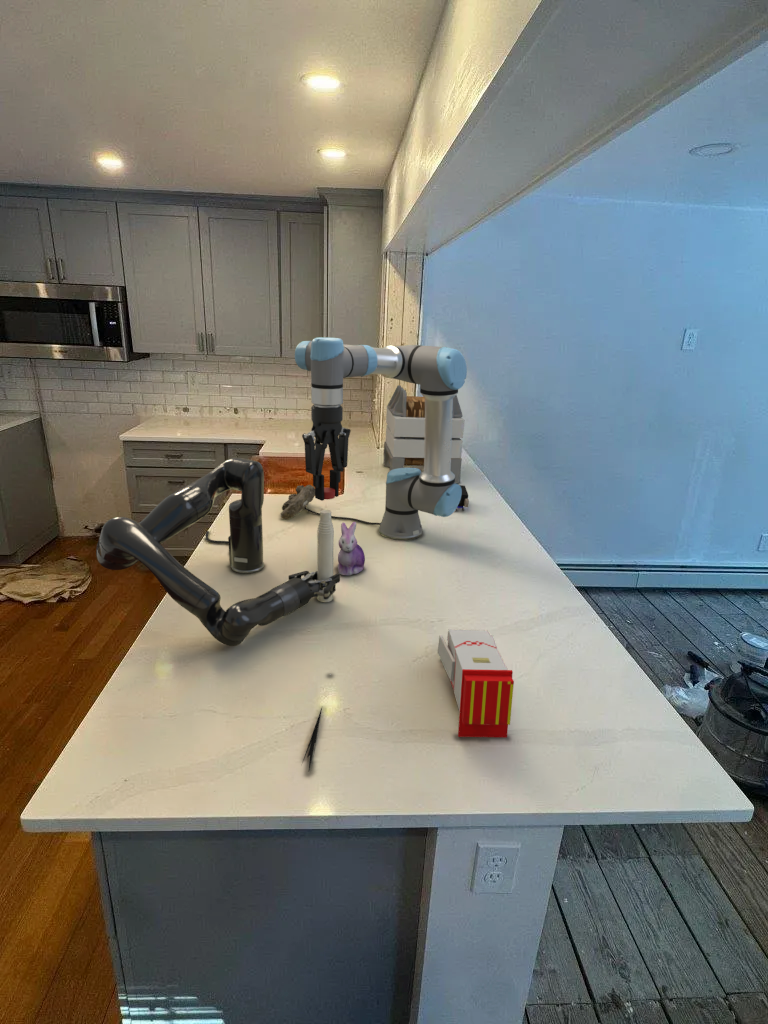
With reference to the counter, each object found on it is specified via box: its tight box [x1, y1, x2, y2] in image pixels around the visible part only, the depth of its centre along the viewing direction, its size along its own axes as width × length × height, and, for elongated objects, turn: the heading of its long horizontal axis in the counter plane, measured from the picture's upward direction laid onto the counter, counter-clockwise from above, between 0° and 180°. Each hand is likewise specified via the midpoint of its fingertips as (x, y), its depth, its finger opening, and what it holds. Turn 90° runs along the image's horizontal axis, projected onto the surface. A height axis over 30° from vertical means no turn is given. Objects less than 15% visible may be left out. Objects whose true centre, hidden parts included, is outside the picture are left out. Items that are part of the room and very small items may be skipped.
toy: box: [437, 628, 515, 738], centre depth 117 cm, size 12×13×30 cm
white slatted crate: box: [383, 384, 465, 484], centre depth 268 cm, size 34×33×41 cm
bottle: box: [316, 509, 335, 603], centre depth 149 cm, size 4×4×25 cm
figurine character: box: [455, 484, 470, 512], centre depth 229 cm, size 7×8×15 cm
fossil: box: [280, 484, 315, 520], centre depth 215 cm, size 22×10×15 cm
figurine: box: [337, 521, 366, 576], centre depth 168 cm, size 9×10×15 cm
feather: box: [301, 673, 332, 771], centre depth 108 cm, size 2×28×2 cm
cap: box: [324, 486, 336, 500], centre depth 144 cm, size 4×4×2 cm
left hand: (331, 574), depth 154 cm, fingers closed on bottle, 4 cm apart
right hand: (326, 496), depth 144 cm, fingers closed on cap, 4 cm apart
